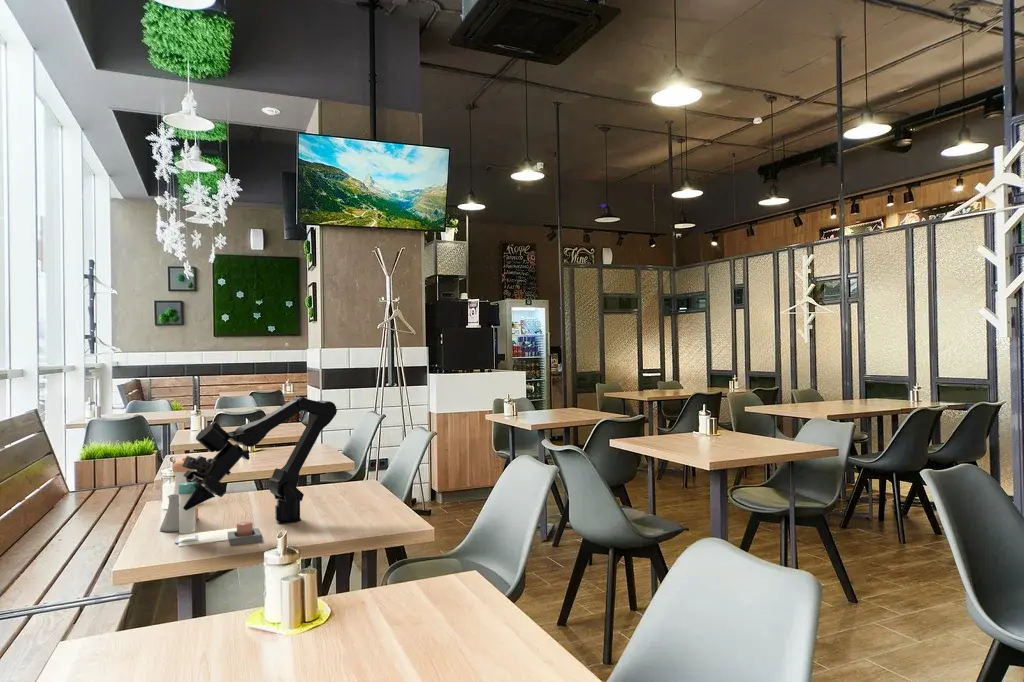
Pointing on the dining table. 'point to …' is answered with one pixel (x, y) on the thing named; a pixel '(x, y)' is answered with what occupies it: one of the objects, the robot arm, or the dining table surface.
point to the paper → (203, 537)
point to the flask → (171, 515)
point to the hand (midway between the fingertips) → (181, 508)
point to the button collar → (244, 537)
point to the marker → (186, 515)
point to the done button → (244, 529)
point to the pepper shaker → (181, 478)
